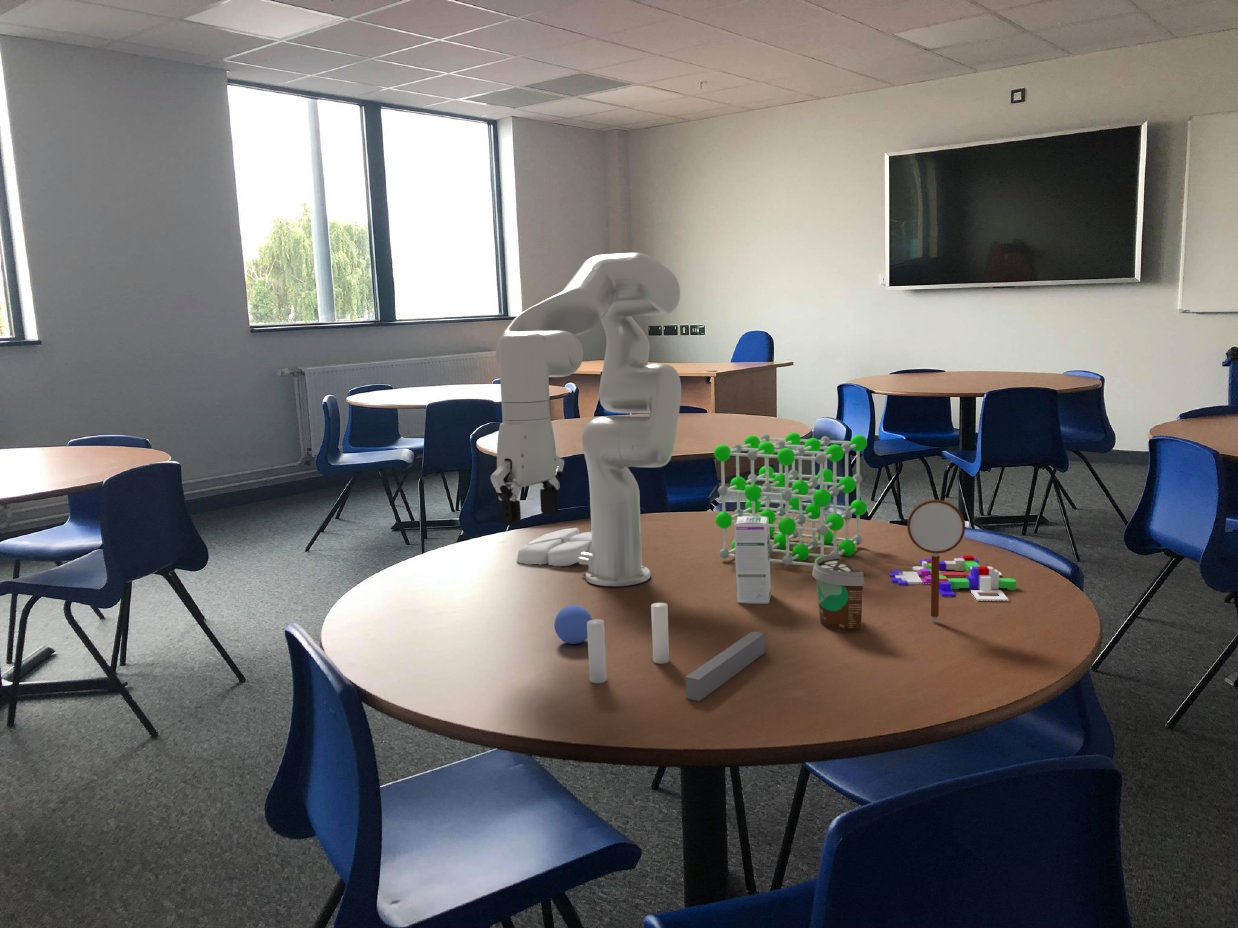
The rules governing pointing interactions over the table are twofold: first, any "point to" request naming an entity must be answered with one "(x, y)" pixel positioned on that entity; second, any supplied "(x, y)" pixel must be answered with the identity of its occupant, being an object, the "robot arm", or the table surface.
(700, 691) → the stopper wall
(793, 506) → the molecular structure model
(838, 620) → the food container
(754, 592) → the syrup box
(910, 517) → the magnifying glass
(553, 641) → the table surface
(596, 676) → the grey pin
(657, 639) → the white pin
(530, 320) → the robot arm
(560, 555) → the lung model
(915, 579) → the building block set
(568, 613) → the ball
